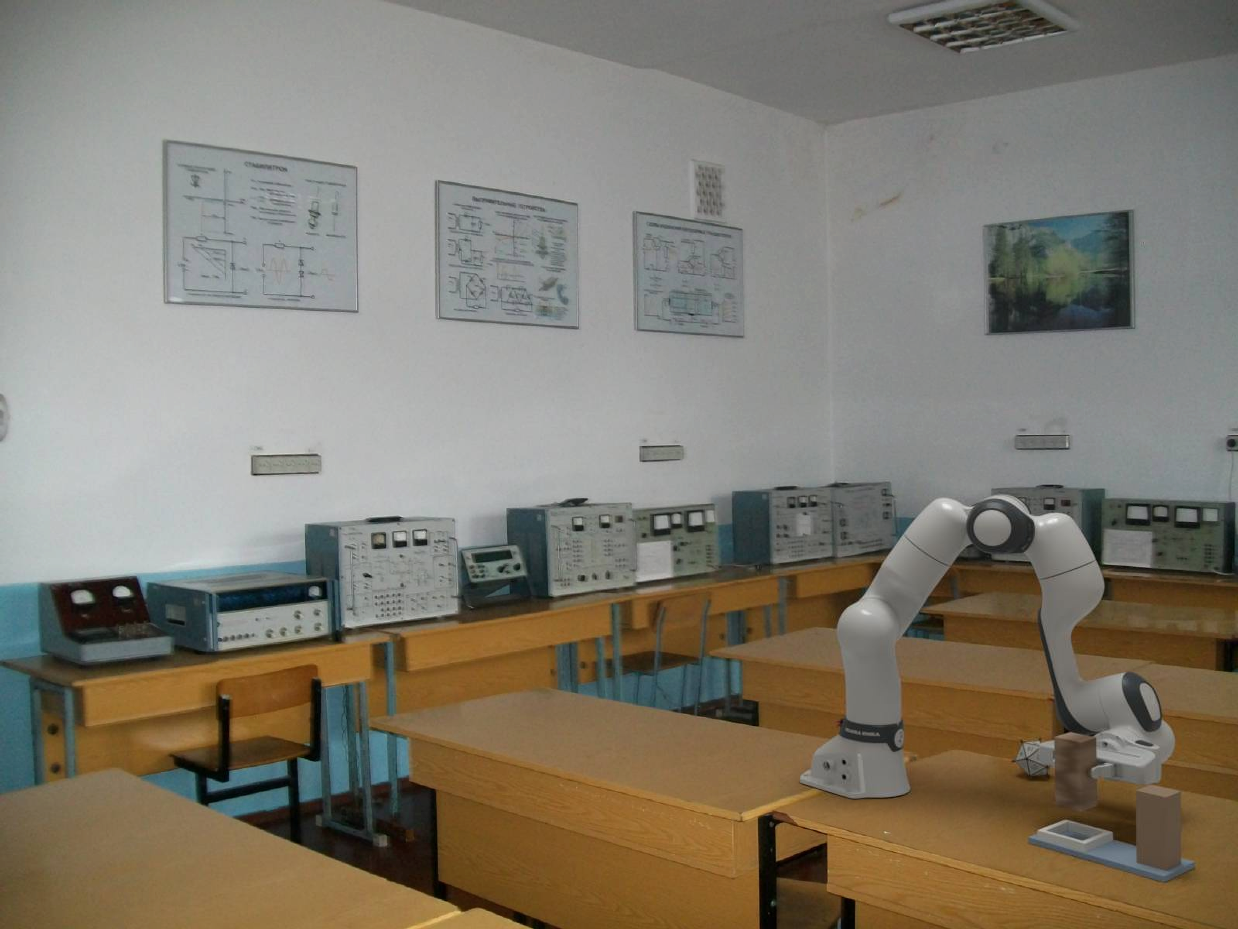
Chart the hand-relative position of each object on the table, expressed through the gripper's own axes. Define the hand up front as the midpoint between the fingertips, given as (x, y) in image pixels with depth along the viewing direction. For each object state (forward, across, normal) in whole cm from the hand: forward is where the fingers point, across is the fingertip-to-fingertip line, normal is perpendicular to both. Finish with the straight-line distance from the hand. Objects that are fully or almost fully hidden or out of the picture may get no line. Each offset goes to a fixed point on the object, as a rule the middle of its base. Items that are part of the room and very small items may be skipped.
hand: (1072, 769), depth 208 cm
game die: (-32, -28, +14) cm, 45 cm away
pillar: (-1, 0, +6) cm, 7 cm away
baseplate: (-1, +6, +14) cm, 15 cm away
